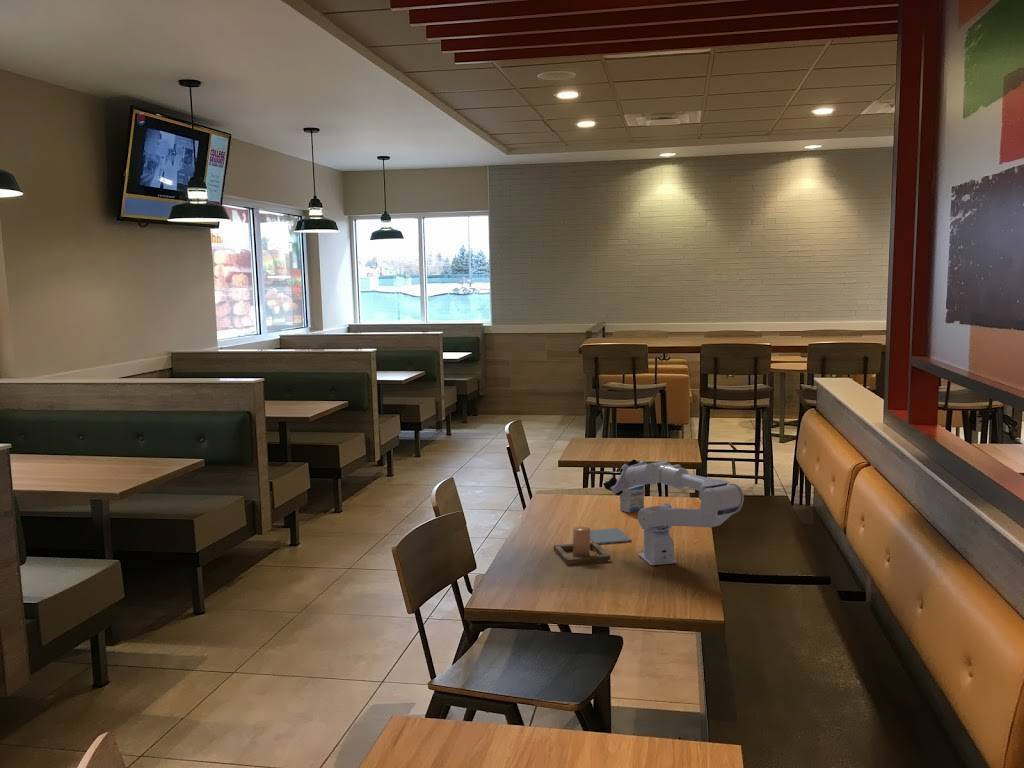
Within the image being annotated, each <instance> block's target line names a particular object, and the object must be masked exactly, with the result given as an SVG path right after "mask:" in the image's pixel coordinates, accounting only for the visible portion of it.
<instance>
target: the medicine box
mask: <svg viewBox="0 0 1024 768" xmlns="http://www.w3.org/2000/svg"><path fill="white" fill-rule="evenodd" d="M622 491H623V493H622V494H621V495H619V510H620V511H621V512H623V511H624V513H627V512H628V513H627V514H632V513H635V512H638V511H639V510H640V509H641V508H645V506H644V505H645V485H637V486H634V487H631V488H627V489H624V490H622ZM637 510H638V511H637ZM634 511H635V512H634ZM631 512H632V513H631Z"/></svg>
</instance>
